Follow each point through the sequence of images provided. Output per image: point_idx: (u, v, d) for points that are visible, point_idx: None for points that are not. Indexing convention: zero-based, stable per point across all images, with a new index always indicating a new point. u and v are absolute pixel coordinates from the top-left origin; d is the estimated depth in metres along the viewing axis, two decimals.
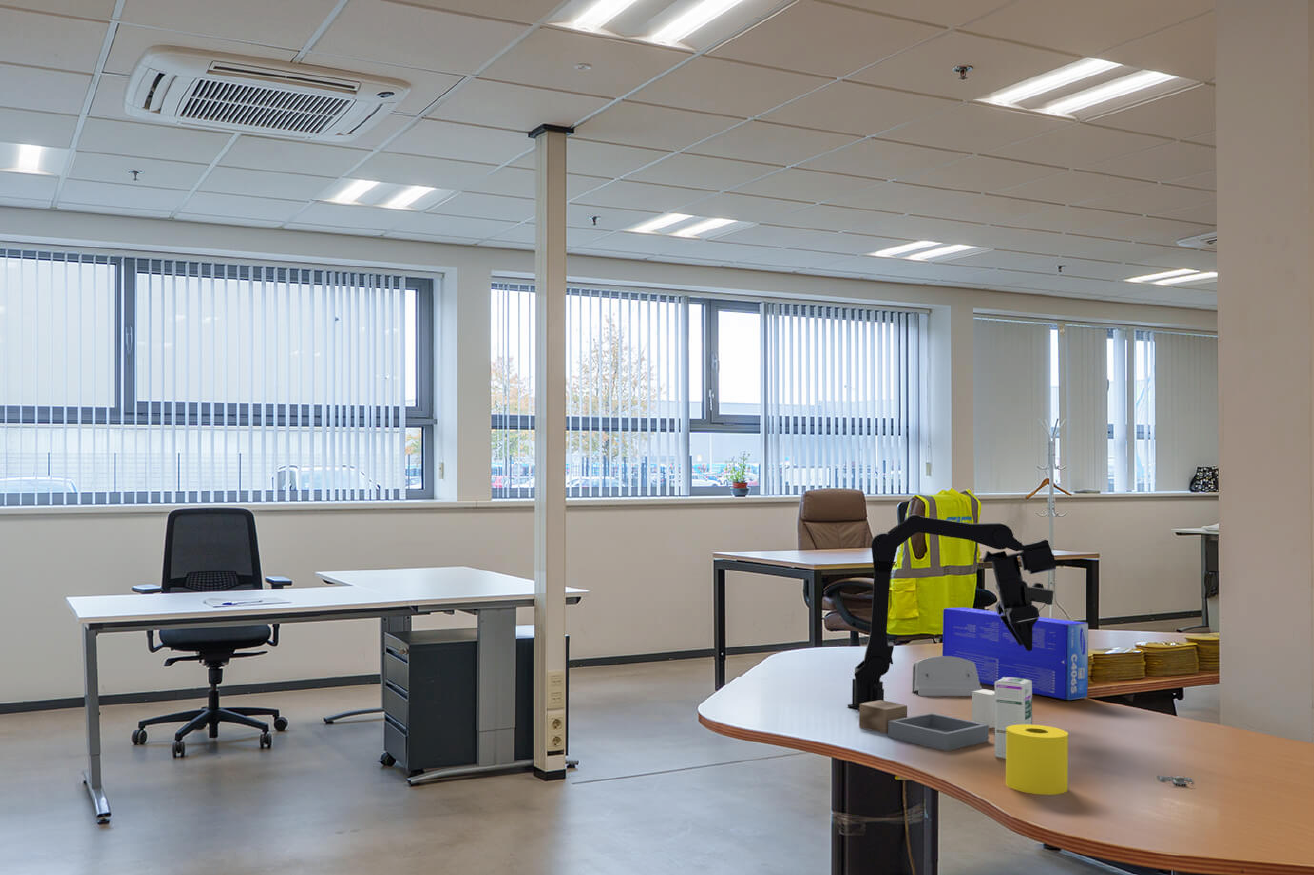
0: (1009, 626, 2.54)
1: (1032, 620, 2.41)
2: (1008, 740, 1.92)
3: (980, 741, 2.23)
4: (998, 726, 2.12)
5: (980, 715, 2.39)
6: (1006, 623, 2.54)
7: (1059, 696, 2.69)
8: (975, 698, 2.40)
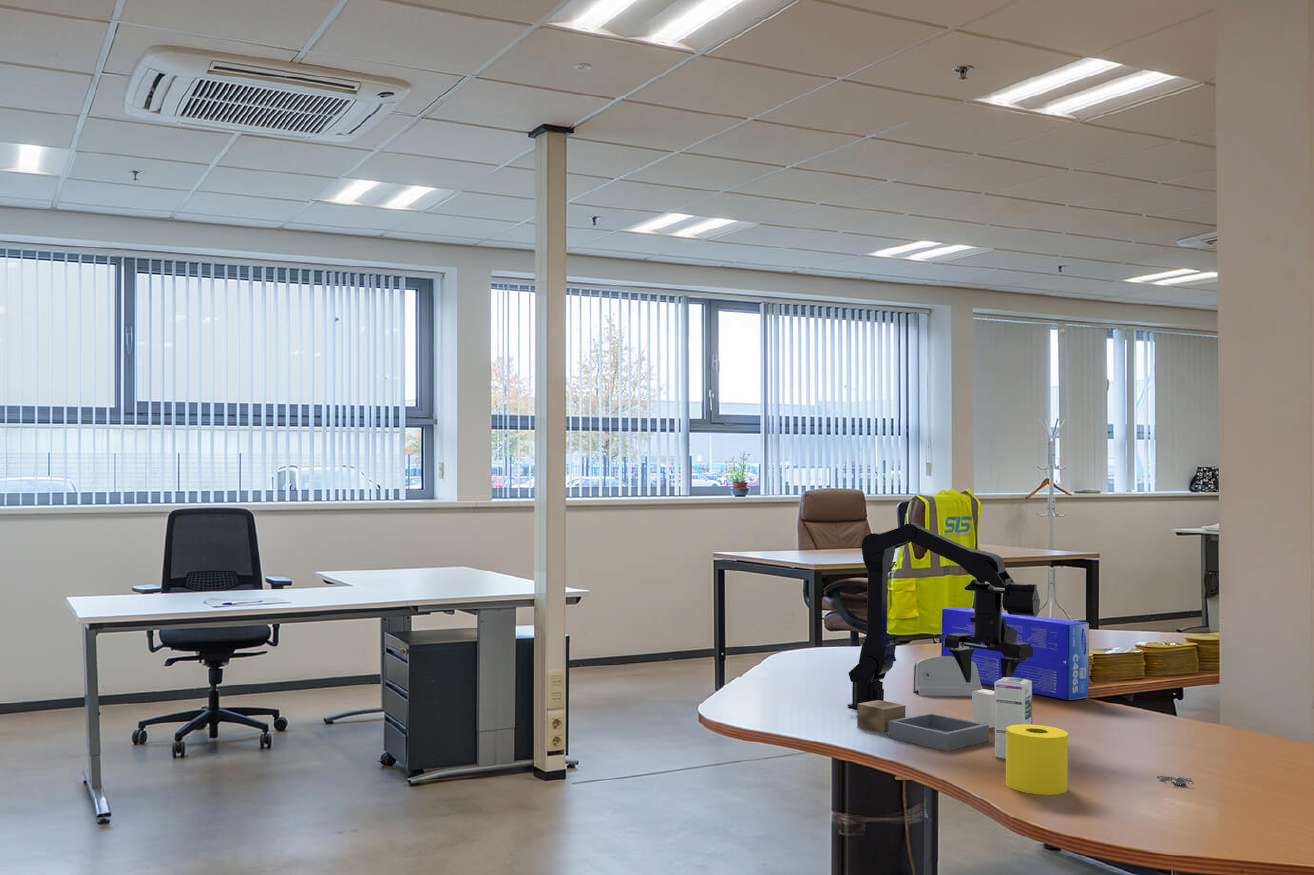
0: (963, 662, 2.43)
1: (1024, 658, 2.35)
2: (1008, 740, 1.92)
3: (980, 741, 2.23)
4: (998, 726, 2.12)
5: (980, 715, 2.39)
6: (961, 658, 2.43)
7: (1061, 696, 2.69)
8: (975, 698, 2.40)
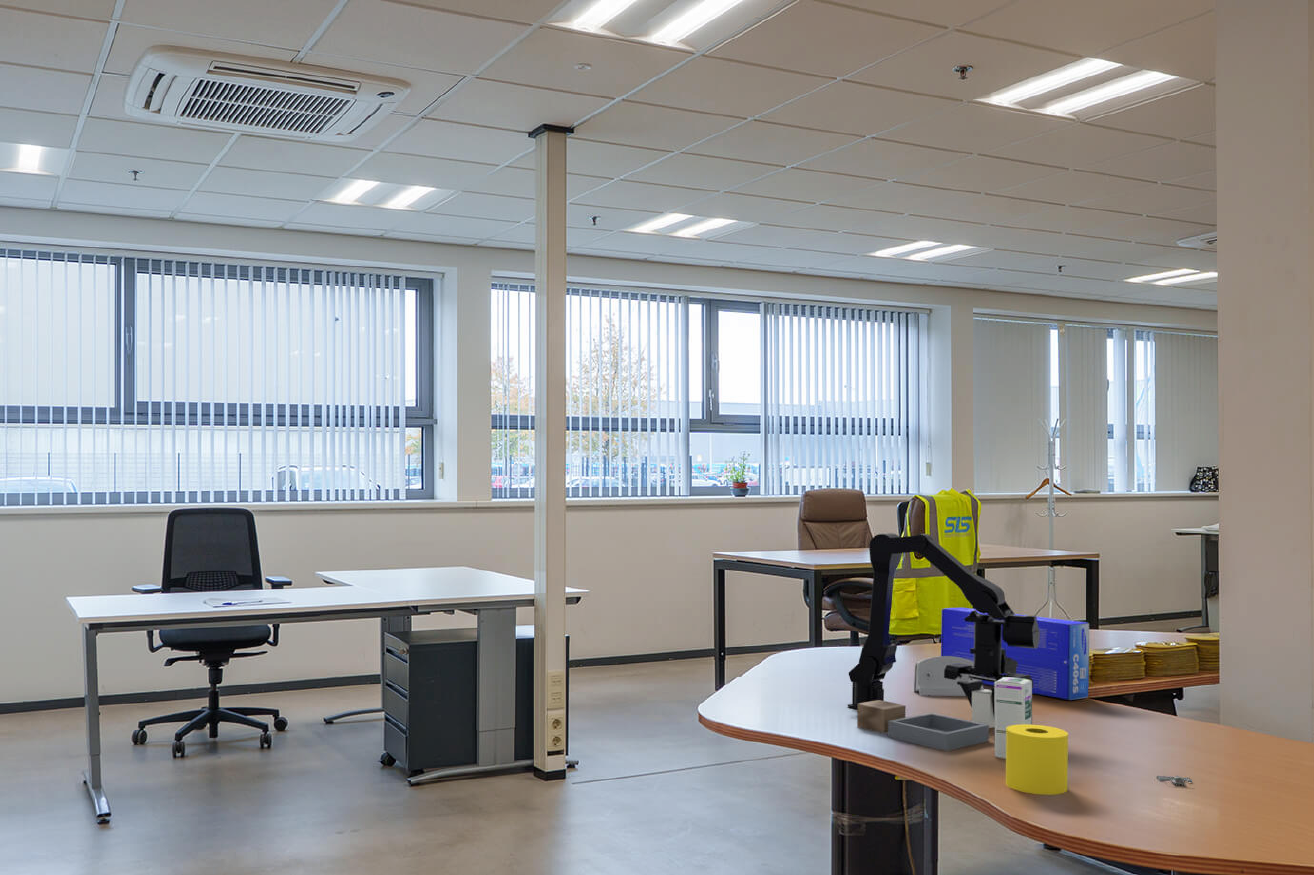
0: None
1: None
2: (1008, 740, 1.92)
3: (980, 741, 2.23)
4: (998, 726, 2.12)
5: (980, 715, 2.39)
6: (970, 691, 2.41)
7: (1061, 696, 2.69)
8: (975, 698, 2.40)
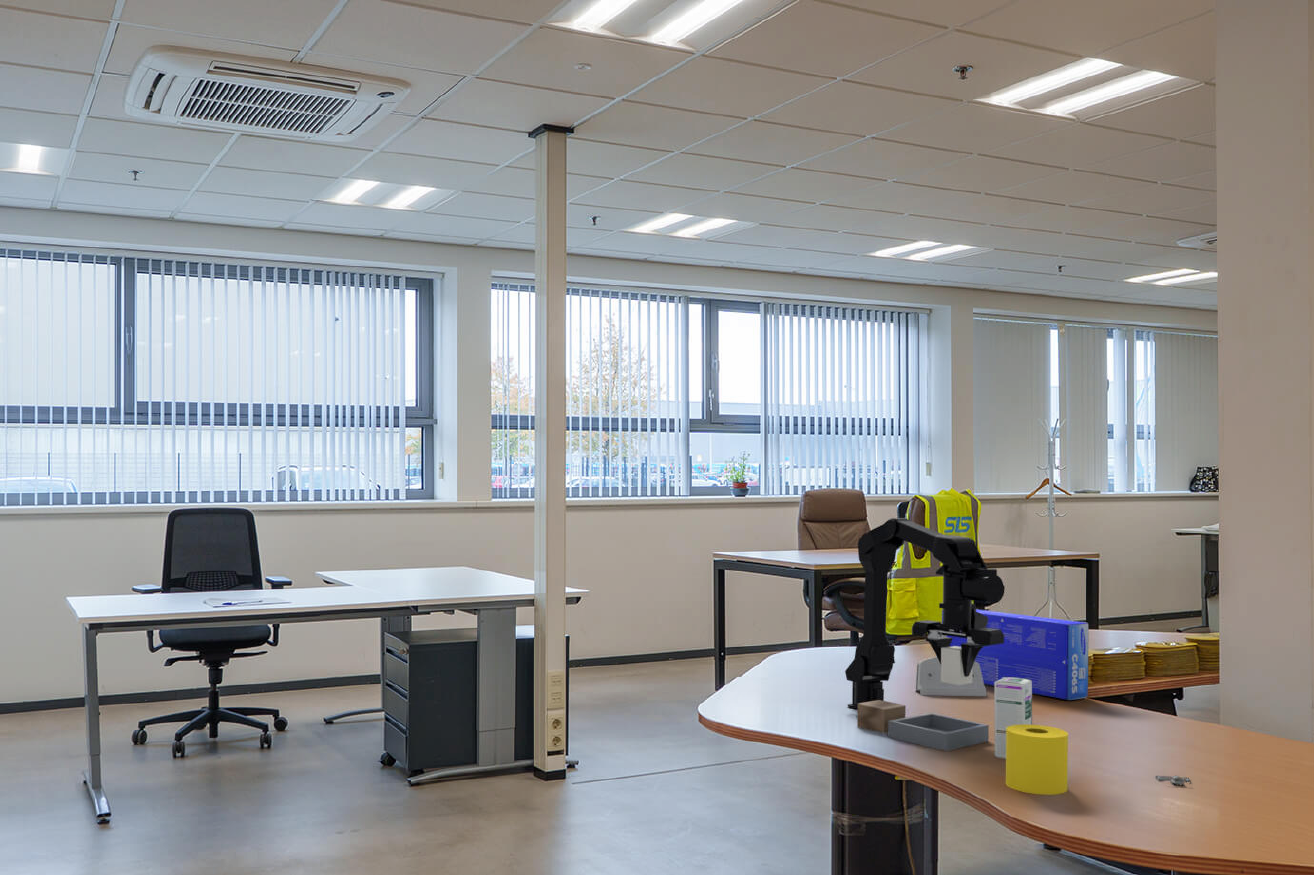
0: None
1: (986, 644, 2.28)
2: (1008, 740, 1.92)
3: (980, 741, 2.23)
4: (998, 726, 2.12)
5: (949, 672, 2.29)
6: (939, 647, 2.32)
7: (1060, 696, 2.69)
8: (944, 654, 2.31)
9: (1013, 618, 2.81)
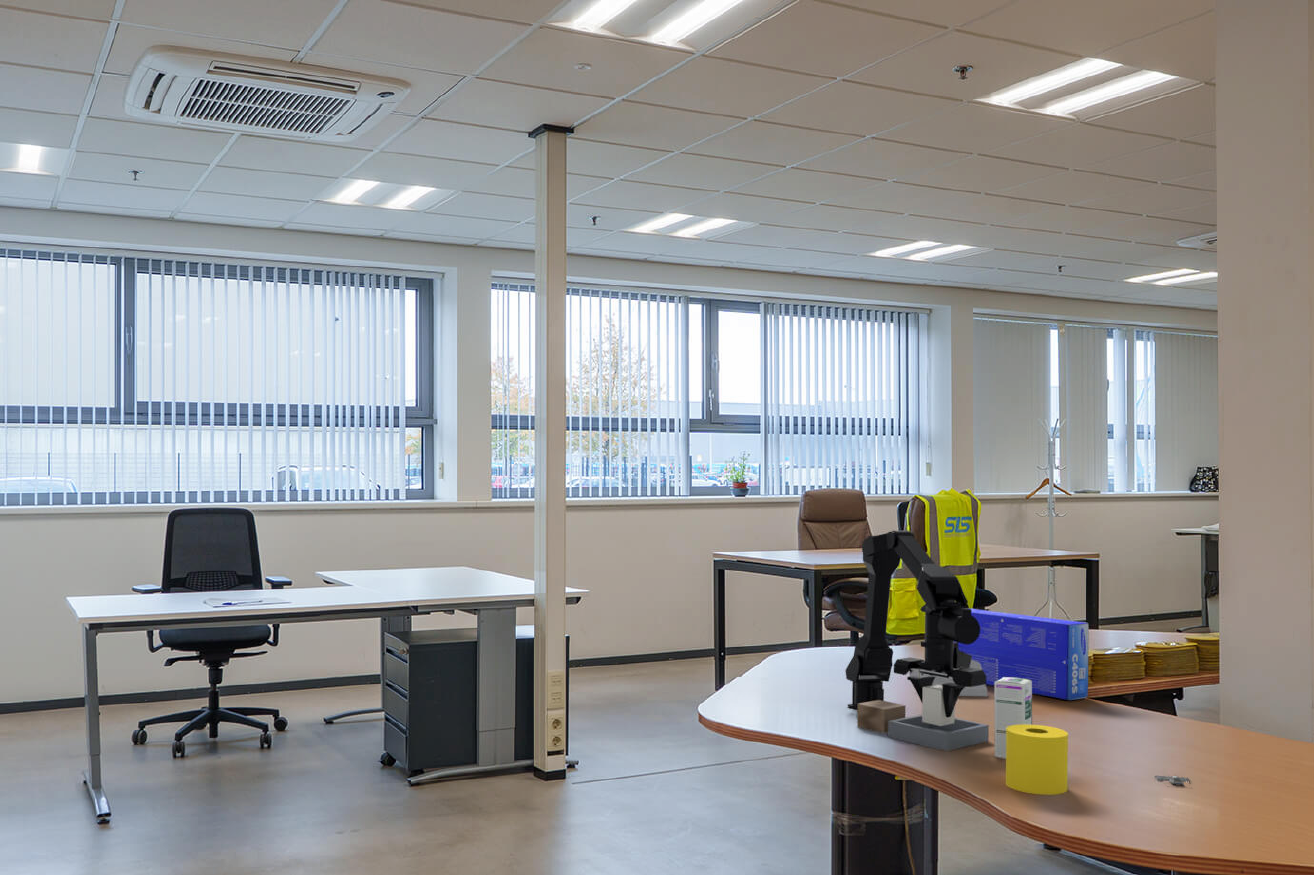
0: (922, 690, 2.27)
1: None
2: (1008, 740, 1.92)
3: (980, 741, 2.23)
4: (998, 726, 2.12)
5: (930, 712, 2.25)
6: (921, 687, 2.27)
7: (1060, 696, 2.69)
8: (926, 694, 2.26)
9: (1013, 618, 2.81)
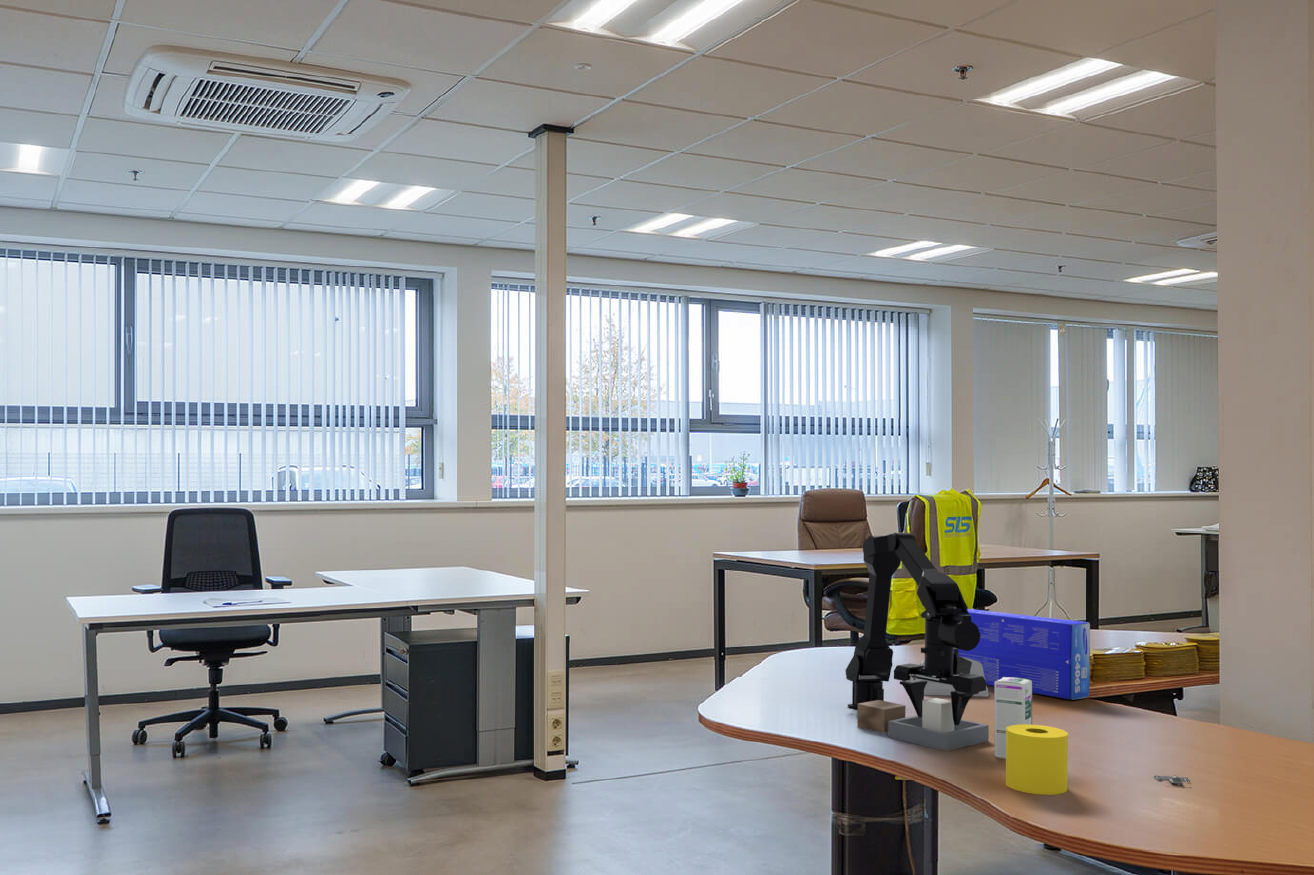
0: (915, 695, 2.28)
1: (976, 692, 2.21)
2: (1008, 740, 1.92)
3: (980, 741, 2.23)
4: (998, 726, 2.12)
5: (930, 726, 2.25)
6: (913, 691, 2.28)
7: (1063, 696, 2.69)
8: (926, 707, 2.26)
9: (1014, 618, 2.81)
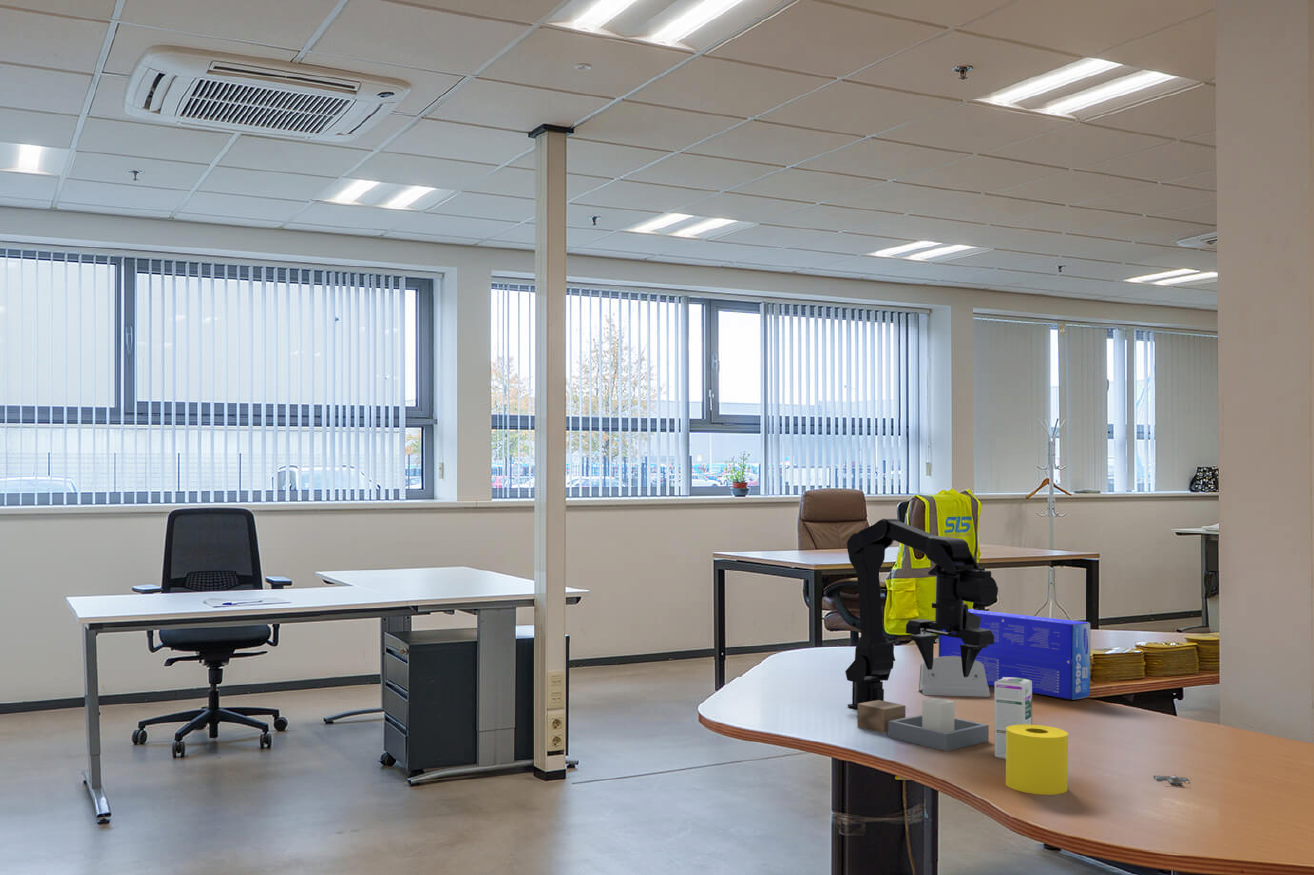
0: (924, 648, 2.38)
1: (985, 646, 2.30)
2: (1008, 740, 1.92)
3: (980, 741, 2.23)
4: (998, 726, 2.12)
5: (930, 726, 2.25)
6: (923, 645, 2.38)
7: (1064, 696, 2.69)
8: (926, 707, 2.26)
9: (1014, 618, 2.81)
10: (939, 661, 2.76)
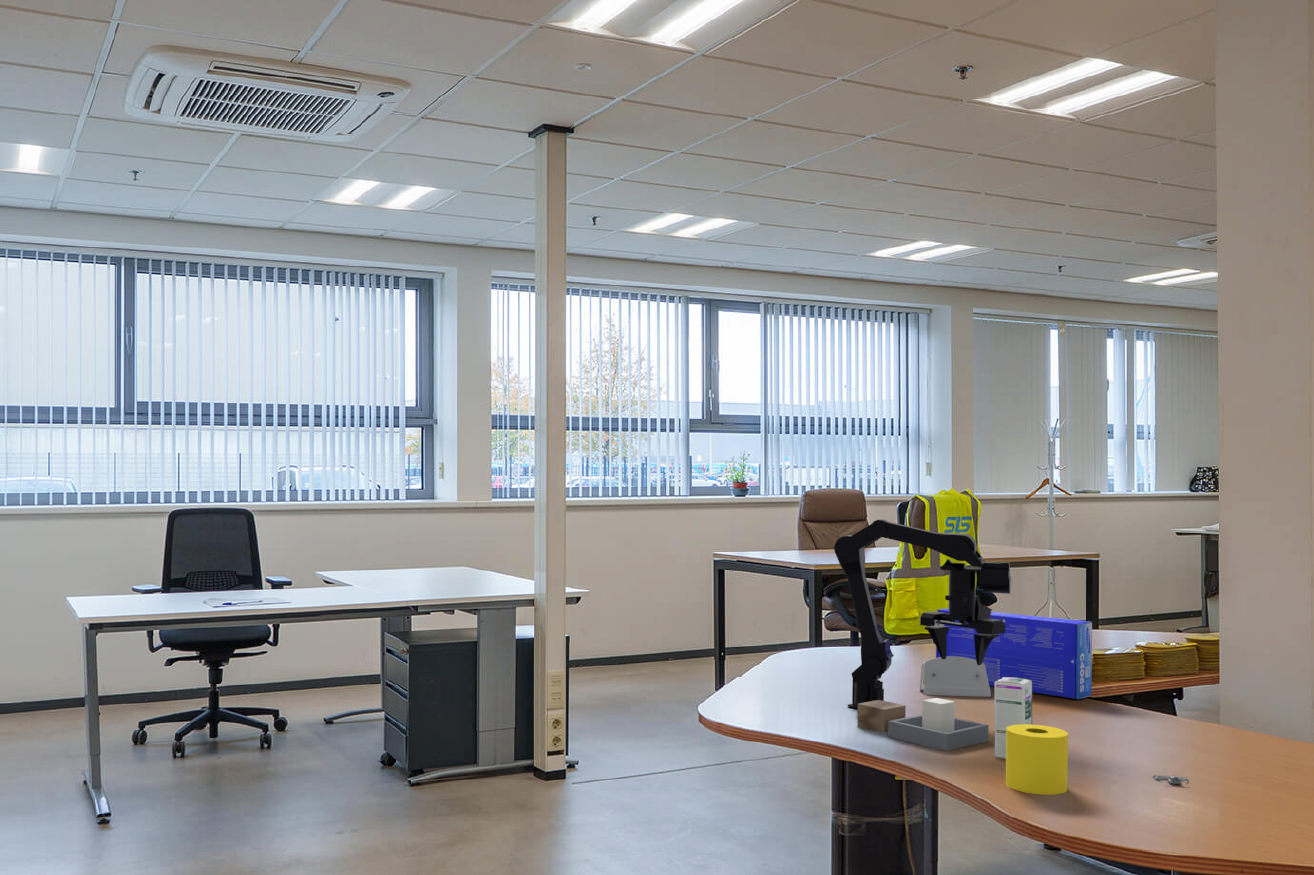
0: (938, 639, 2.51)
1: (997, 635, 2.43)
2: (1008, 740, 1.92)
3: (980, 741, 2.23)
4: (998, 726, 2.12)
5: (930, 726, 2.25)
6: (937, 635, 2.50)
7: (1068, 695, 2.70)
8: (926, 707, 2.26)
9: (1016, 618, 2.81)
10: (940, 661, 2.76)
